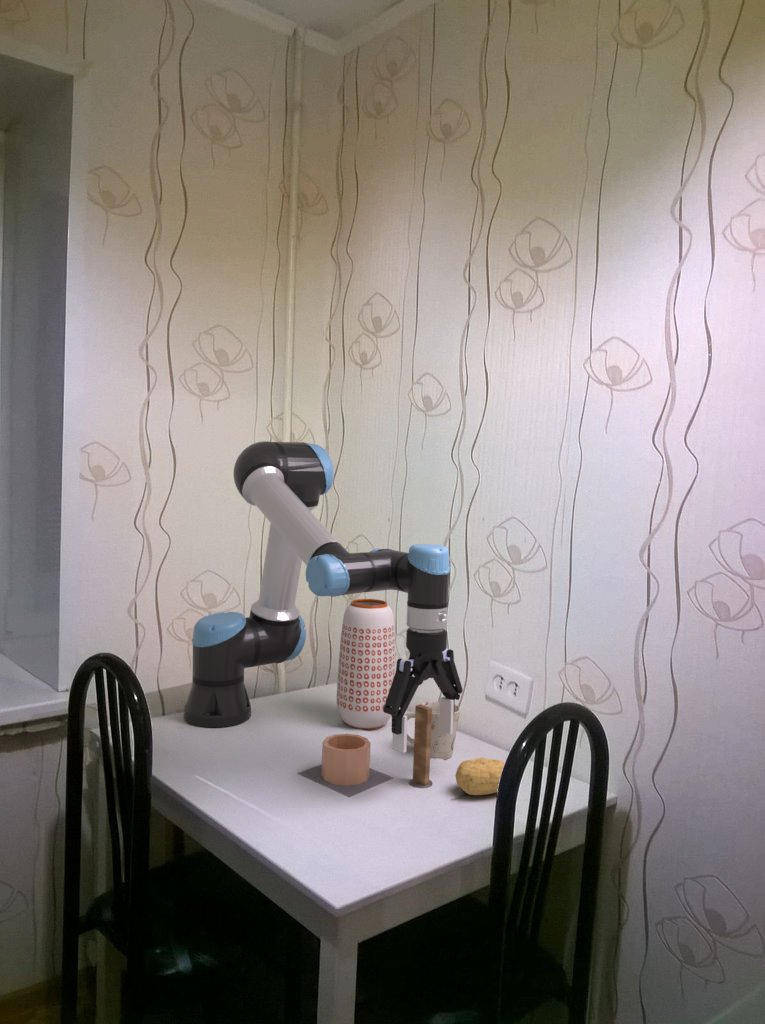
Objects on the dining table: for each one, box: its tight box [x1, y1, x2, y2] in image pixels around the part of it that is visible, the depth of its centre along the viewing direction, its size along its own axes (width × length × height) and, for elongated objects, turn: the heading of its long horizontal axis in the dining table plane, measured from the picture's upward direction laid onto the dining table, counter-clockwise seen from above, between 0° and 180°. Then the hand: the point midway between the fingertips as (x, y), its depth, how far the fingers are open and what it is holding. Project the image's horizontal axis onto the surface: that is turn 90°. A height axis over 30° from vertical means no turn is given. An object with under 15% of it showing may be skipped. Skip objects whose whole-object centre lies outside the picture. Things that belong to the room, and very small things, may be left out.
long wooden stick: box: [408, 704, 433, 789], centre depth 145 cm, size 4×4×15 cm
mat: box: [297, 763, 394, 798], centre depth 147 cm, size 14×12×1 cm
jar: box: [321, 733, 372, 786], centre depth 147 cm, size 9×9×6 cm
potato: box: [455, 757, 506, 796], centre depth 143 cm, size 7×11×6 cm, turn 106°
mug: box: [404, 700, 461, 760], centre depth 160 cm, size 8×13×10 cm, turn 78°
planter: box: [336, 598, 396, 731], centre depth 176 cm, size 13×13×28 cm
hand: (423, 741), depth 144 cm, fingers open, 13 cm apart
